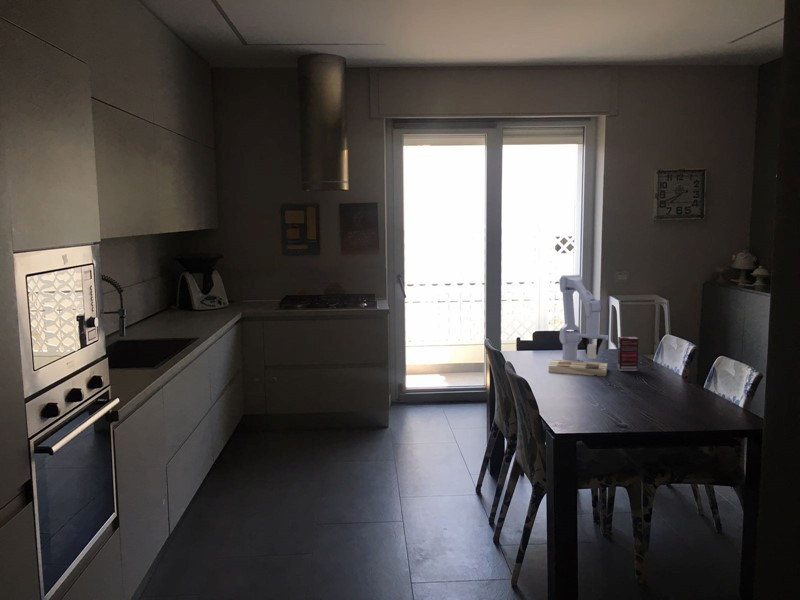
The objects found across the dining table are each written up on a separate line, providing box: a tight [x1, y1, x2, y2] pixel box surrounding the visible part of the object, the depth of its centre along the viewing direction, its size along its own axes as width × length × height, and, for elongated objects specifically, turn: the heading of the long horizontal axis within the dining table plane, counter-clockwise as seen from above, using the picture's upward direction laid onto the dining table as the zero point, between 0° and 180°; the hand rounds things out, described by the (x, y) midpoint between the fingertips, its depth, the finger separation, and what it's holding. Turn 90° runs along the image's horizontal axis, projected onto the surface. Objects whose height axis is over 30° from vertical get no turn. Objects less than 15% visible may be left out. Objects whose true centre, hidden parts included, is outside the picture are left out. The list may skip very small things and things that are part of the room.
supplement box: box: [617, 336, 639, 372], centre depth 306 cm, size 9×5×16 cm, turn 84°
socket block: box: [548, 358, 609, 377], centre depth 306 cm, size 14×26×3 cm, turn 69°
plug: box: [586, 343, 597, 360], centre depth 303 cm, size 4×4×6 cm
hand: (591, 353), depth 303 cm, fingers closed on plug, 4 cm apart
